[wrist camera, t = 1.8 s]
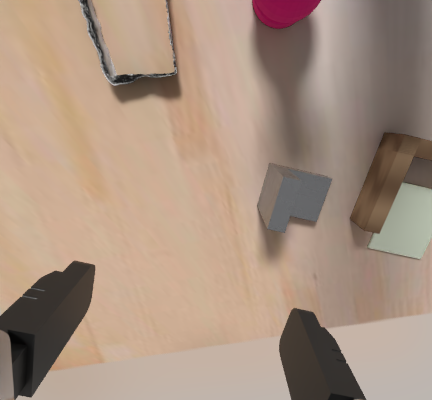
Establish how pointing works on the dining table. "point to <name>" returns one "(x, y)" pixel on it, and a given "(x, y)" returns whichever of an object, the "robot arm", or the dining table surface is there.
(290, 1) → the pepper mill
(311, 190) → the bracket
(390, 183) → the wooden corner frame
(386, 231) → the pad
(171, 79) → the dining table surface
